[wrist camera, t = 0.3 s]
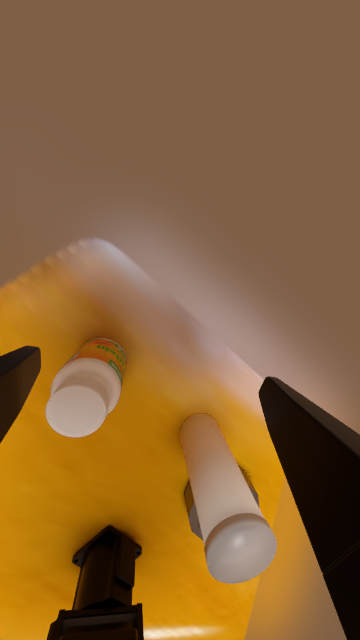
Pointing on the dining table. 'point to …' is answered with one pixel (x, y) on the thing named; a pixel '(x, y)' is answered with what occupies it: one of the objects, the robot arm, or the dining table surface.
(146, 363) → the dining table surface
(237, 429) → the dining table surface
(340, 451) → the robot arm
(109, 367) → the supplement bottle
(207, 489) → the duct sleeve
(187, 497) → the collar
